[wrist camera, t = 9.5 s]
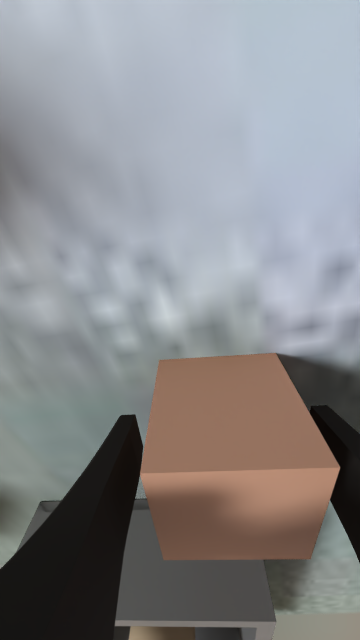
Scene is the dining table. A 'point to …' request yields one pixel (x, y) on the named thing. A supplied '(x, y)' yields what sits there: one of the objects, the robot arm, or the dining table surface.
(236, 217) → the dining table surface
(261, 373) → the wooden cube
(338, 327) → the dining table surface
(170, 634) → the wooden cylinder
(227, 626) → the tote
